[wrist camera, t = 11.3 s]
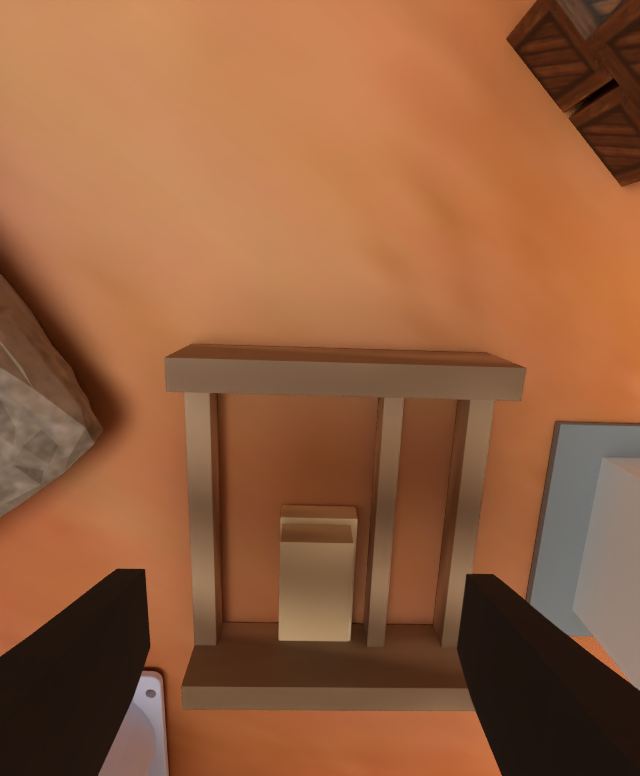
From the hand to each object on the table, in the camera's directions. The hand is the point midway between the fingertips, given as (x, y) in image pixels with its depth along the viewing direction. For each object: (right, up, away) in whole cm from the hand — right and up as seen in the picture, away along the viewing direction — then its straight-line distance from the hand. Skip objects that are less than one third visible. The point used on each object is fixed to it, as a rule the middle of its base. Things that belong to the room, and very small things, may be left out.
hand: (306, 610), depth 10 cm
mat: (+14, -2, +11) cm, 18 cm away
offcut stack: (0, -4, +11) cm, 12 cm away
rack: (+2, -1, +10) cm, 11 cm away
